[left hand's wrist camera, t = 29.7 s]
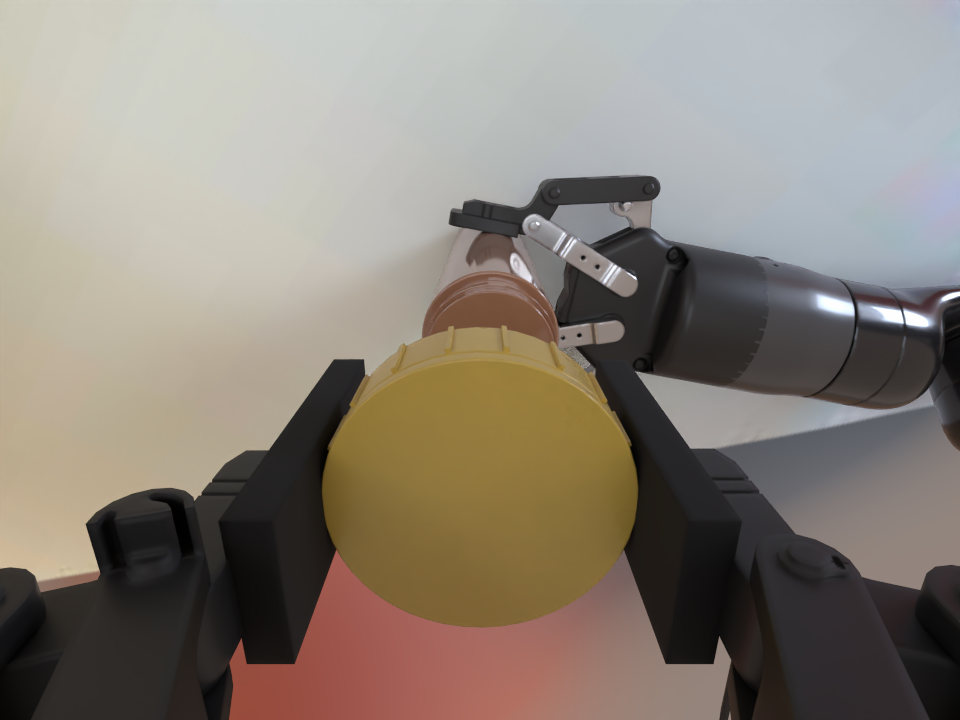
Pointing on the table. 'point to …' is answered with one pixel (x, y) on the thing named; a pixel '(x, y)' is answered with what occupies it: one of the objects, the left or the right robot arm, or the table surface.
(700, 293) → the right robot arm
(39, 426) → the table surface
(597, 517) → the lid
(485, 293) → the brown cylinder
